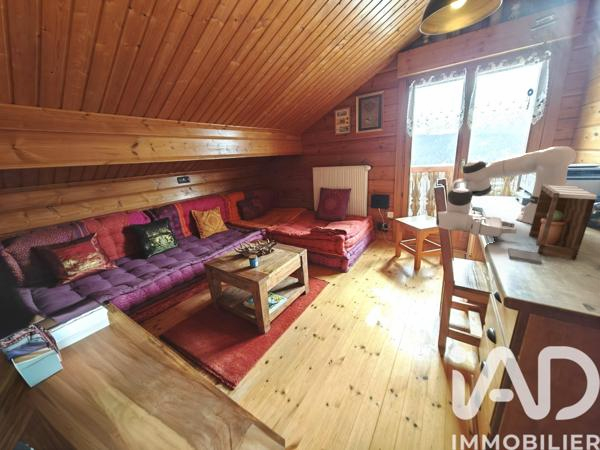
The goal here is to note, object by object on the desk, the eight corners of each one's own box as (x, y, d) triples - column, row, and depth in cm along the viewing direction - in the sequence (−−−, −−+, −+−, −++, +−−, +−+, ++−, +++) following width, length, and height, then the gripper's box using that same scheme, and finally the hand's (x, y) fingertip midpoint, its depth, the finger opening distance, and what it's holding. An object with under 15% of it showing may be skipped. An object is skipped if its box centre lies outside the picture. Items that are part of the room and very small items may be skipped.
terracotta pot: (533, 241, 102) (542, 207, 97) (556, 244, 97) (567, 209, 93) (535, 246, 96) (545, 211, 92) (560, 250, 92) (571, 213, 88)
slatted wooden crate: (528, 235, 109) (541, 184, 102) (559, 239, 103) (575, 185, 96) (537, 254, 90) (554, 192, 83) (575, 260, 84) (597, 194, 77)
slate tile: (507, 250, 94) (508, 247, 94) (537, 254, 89) (537, 252, 89) (509, 258, 87) (510, 255, 87) (541, 263, 82) (541, 261, 82)
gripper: (475, 224, 118) (511, 228, 110) (473, 236, 103) (515, 242, 95) (477, 212, 116) (514, 215, 108) (475, 222, 101) (519, 227, 93)
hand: (515, 228), depth 101 cm, fingers open, 8 cm apart
